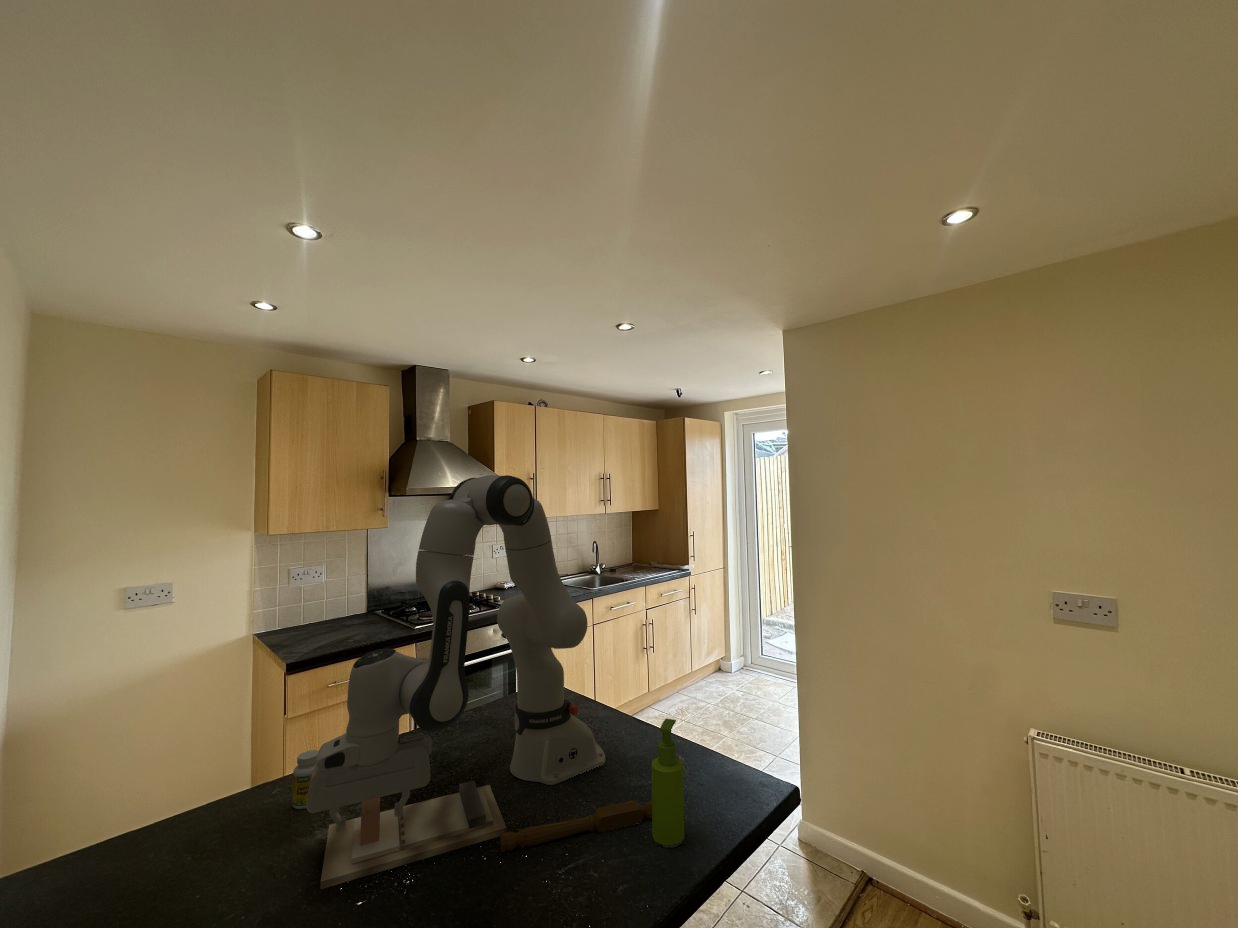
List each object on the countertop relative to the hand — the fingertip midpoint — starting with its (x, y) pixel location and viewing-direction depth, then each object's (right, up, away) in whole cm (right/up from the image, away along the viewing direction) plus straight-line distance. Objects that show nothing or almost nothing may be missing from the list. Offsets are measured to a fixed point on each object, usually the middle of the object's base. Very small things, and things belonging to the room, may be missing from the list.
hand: (370, 821), depth 91 cm
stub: (+1, -3, 0) cm, 3 cm away
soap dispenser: (+55, -4, +2) cm, 55 cm away
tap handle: (+38, -5, +3) cm, 39 cm away
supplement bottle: (-20, -6, +13) cm, 25 cm away
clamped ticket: (+7, -4, +3) cm, 9 cm away
